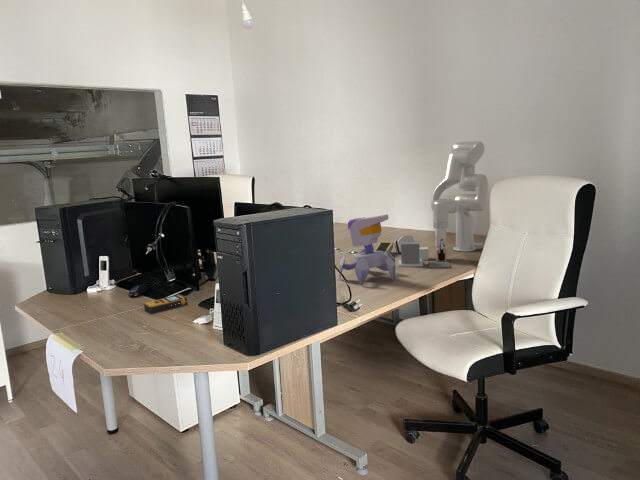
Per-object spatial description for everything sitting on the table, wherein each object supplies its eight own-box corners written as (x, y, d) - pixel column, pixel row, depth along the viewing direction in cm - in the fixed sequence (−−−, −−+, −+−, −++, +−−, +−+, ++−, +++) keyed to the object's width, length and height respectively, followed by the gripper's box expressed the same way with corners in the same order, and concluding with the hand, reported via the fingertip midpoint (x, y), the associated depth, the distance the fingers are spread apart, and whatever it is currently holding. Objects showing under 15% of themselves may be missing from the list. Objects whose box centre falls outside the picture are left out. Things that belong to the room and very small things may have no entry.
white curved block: (403, 254, 274) (398, 237, 275) (397, 256, 278) (391, 239, 278) (419, 248, 287) (414, 232, 287) (412, 250, 290) (407, 234, 290)
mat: (448, 263, 249) (448, 261, 249) (450, 268, 240) (450, 266, 239) (428, 263, 251) (428, 261, 251) (429, 268, 241) (429, 266, 241)
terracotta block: (445, 259, 259) (445, 247, 257) (446, 261, 254) (446, 249, 253) (435, 259, 259) (435, 248, 258) (436, 261, 254) (436, 250, 253)
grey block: (427, 258, 263) (427, 247, 262) (428, 260, 258) (428, 249, 257) (418, 258, 264) (418, 247, 263) (418, 260, 259) (418, 249, 258)
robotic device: (363, 269, 247) (361, 209, 242) (408, 275, 231) (407, 212, 226) (331, 281, 227) (328, 217, 222) (378, 289, 211) (375, 220, 206)
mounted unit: (421, 261, 255) (421, 240, 253) (422, 266, 246) (422, 244, 243) (398, 262, 257) (398, 241, 255) (398, 266, 247) (398, 245, 245)
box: (394, 249, 281) (393, 241, 280) (385, 265, 262) (385, 256, 260) (379, 249, 284) (379, 241, 282) (370, 265, 264) (369, 256, 263)
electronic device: (143, 310, 201) (142, 302, 201) (179, 300, 211) (179, 293, 210) (151, 314, 195) (150, 306, 194) (188, 304, 204) (187, 297, 204)
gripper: (432, 222, 262) (432, 255, 265) (434, 227, 245) (434, 263, 249) (446, 222, 261) (446, 255, 264) (450, 227, 244) (450, 263, 248)
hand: (441, 258), depth 256 cm, fingers closed on terracotta block, 5 cm apart
